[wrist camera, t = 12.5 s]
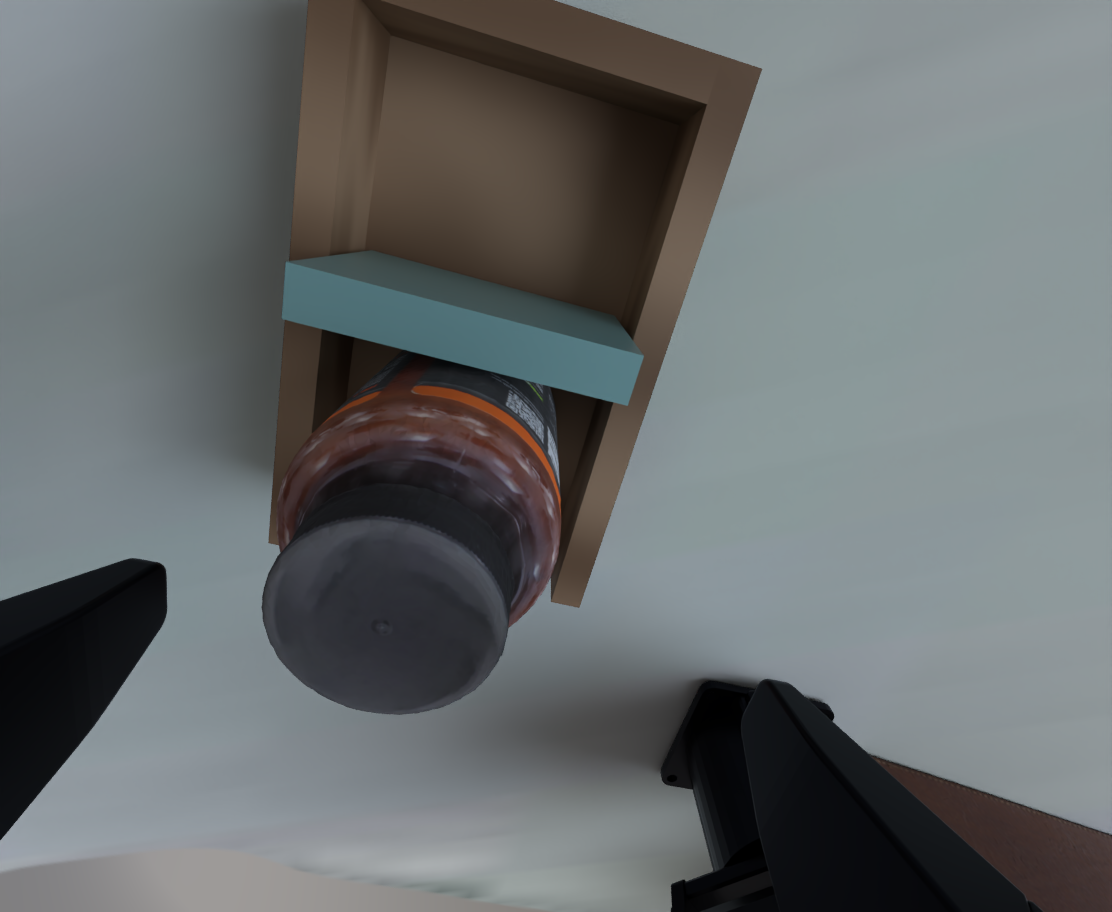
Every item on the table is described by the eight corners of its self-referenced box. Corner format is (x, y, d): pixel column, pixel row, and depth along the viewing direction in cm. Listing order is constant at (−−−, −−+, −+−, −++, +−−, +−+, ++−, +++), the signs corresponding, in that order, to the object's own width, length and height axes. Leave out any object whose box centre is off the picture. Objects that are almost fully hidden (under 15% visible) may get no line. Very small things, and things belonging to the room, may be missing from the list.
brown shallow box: (574, 545, 23) (579, 607, 19) (316, 488, 21) (268, 542, 18) (714, 103, 17) (762, 68, 13) (369, -7, 16) (313, -79, 12)
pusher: (603, 351, 18) (627, 406, 13) (366, 289, 17) (281, 319, 12) (614, 315, 18) (643, 355, 12) (371, 250, 17) (285, 261, 11)
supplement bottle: (370, 460, 20) (172, 718, 10) (404, 297, 18) (197, 401, 7) (529, 504, 21) (507, 789, 10) (580, 354, 19) (618, 521, 8)
